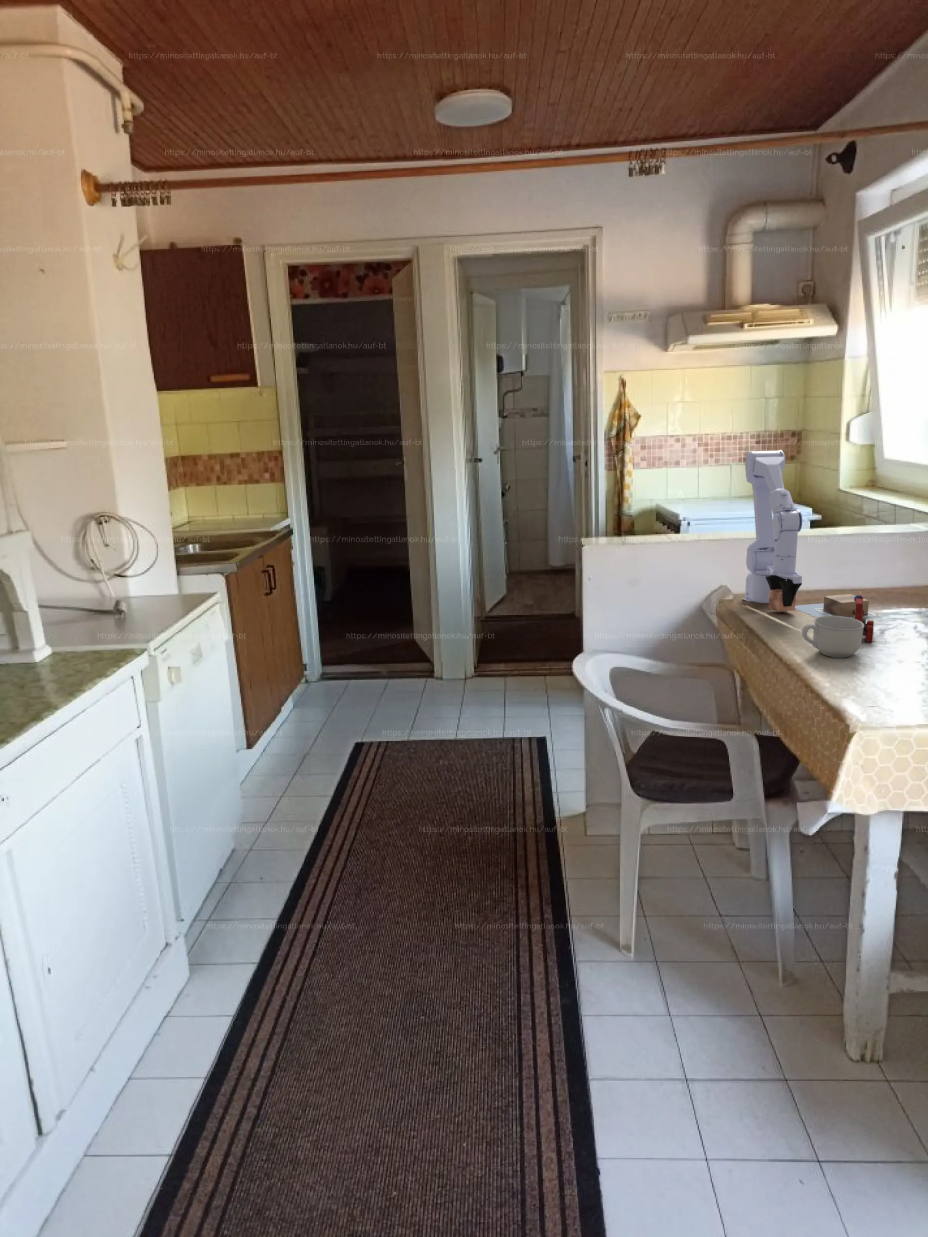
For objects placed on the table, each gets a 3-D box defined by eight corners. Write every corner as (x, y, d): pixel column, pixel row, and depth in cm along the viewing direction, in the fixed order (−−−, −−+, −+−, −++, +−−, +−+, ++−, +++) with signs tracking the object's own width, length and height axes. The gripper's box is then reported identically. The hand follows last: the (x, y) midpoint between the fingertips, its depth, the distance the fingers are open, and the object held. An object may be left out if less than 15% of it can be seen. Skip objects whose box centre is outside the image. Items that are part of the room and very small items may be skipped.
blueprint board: (789, 608, 239) (789, 605, 239) (840, 604, 241) (840, 601, 241) (826, 624, 222) (826, 621, 222) (881, 619, 224) (881, 616, 224)
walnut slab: (823, 610, 233) (824, 596, 232) (849, 608, 234) (850, 594, 233) (840, 617, 225) (841, 602, 224) (867, 614, 227) (868, 600, 226)
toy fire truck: (872, 632, 213) (876, 593, 211) (872, 646, 202) (876, 604, 200) (842, 630, 216) (846, 591, 214) (840, 643, 205) (844, 602, 203)
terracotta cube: (768, 607, 234) (769, 589, 233) (785, 606, 235) (786, 588, 233) (778, 611, 229) (779, 593, 228) (794, 610, 230) (796, 592, 229)
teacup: (852, 647, 202) (855, 615, 200) (868, 660, 192) (871, 627, 190) (792, 647, 204) (794, 615, 202) (805, 661, 193) (807, 627, 191)
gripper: (757, 551, 234) (755, 598, 238) (785, 561, 220) (782, 611, 224) (781, 549, 235) (778, 597, 239) (810, 559, 222) (806, 609, 225)
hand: (781, 603), depth 231 cm, fingers closed on terracotta cube, 5 cm apart
